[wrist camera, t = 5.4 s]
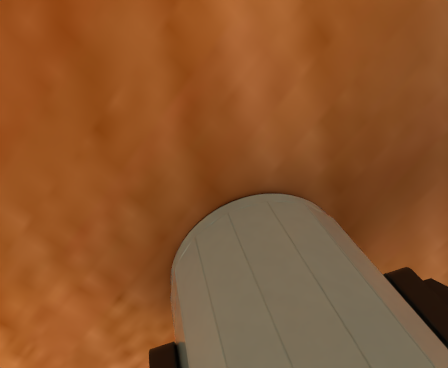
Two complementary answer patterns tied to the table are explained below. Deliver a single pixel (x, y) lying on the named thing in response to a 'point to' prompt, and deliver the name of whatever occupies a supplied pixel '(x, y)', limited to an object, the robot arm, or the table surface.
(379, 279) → the cup
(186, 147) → the table surface
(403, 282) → the robot arm
